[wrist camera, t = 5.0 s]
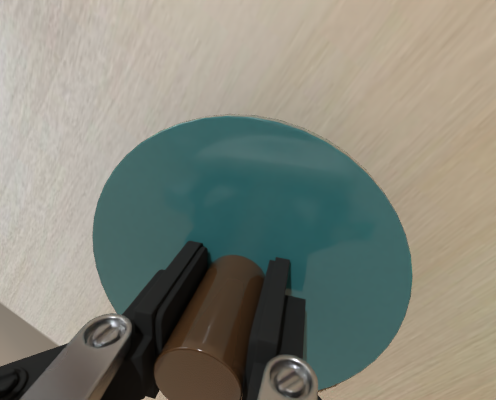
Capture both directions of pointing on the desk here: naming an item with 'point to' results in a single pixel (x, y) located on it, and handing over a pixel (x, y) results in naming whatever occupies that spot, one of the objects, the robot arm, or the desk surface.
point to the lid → (254, 246)
